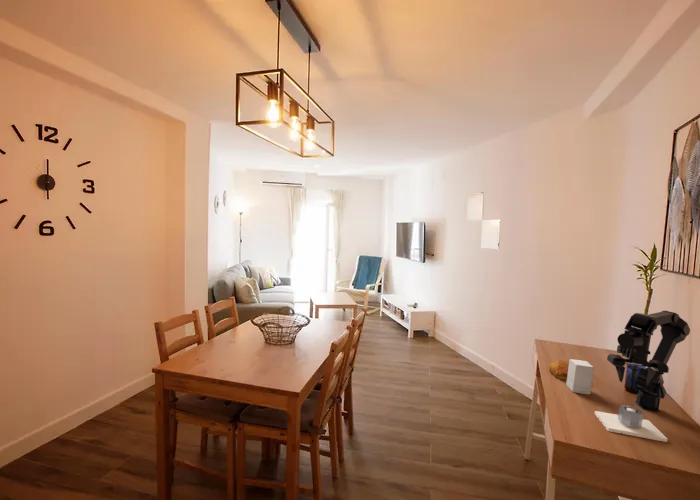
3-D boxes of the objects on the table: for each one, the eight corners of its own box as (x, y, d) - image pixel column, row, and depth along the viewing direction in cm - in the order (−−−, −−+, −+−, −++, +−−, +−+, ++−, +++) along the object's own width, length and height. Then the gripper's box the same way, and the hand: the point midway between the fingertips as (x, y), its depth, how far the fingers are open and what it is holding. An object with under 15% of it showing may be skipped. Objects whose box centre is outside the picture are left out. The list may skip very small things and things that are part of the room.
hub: (634, 419, 134) (636, 407, 134) (644, 429, 128) (646, 416, 128) (615, 416, 136) (617, 403, 136) (623, 425, 130) (625, 412, 129)
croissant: (551, 371, 184) (551, 356, 184) (587, 377, 174) (587, 361, 174) (545, 379, 173) (545, 363, 173) (583, 386, 163) (583, 369, 163)
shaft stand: (647, 423, 136) (650, 406, 135) (667, 442, 124) (670, 423, 124) (594, 413, 140) (596, 397, 140) (608, 431, 129) (610, 413, 128)
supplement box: (590, 395, 156) (594, 367, 155) (572, 392, 158) (575, 364, 156) (583, 387, 163) (587, 360, 162) (565, 384, 165) (569, 358, 163)
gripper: (655, 342, 146) (649, 379, 148) (603, 336, 151) (598, 371, 152) (672, 352, 135) (666, 391, 137) (616, 344, 140) (610, 382, 142)
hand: (633, 383), depth 142 cm, fingers open, 9 cm apart
